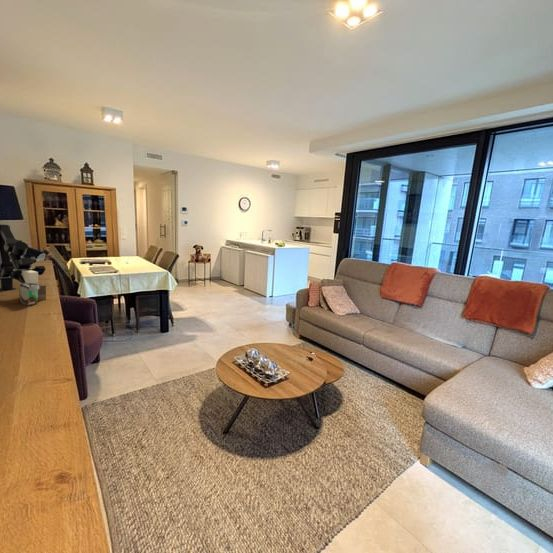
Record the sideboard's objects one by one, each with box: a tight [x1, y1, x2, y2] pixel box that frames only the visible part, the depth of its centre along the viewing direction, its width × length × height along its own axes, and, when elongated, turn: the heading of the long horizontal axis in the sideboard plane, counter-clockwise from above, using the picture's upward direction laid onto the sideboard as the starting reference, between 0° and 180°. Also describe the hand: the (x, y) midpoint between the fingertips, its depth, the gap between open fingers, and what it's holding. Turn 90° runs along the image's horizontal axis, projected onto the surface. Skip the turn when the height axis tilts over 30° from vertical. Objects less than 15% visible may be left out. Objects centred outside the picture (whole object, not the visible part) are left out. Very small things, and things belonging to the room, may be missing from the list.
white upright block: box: [21, 270, 40, 285], centre depth 162 cm, size 8×4×14 cm, turn 62°
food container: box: [18, 282, 40, 307], centre depth 154 cm, size 12×6×10 cm, turn 58°
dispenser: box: [18, 283, 47, 302], centre depth 159 cm, size 5×10×8 cm, turn 152°
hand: (29, 283), depth 162 cm, fingers closed on white upright block, 4 cm apart
